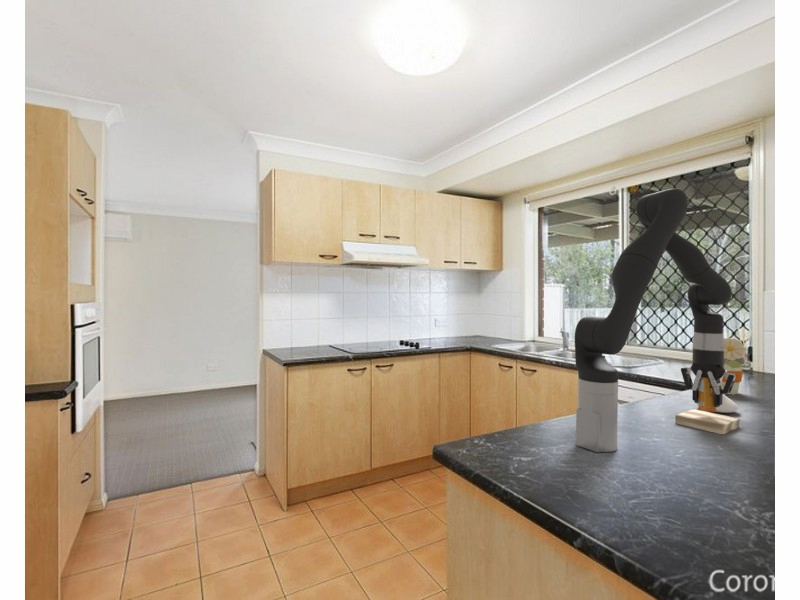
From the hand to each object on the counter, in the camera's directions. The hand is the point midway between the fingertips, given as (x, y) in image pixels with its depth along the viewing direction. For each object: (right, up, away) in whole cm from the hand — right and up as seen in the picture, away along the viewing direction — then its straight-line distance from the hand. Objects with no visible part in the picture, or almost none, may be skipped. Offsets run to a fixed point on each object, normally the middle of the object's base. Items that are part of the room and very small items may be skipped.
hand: (707, 404), depth 123 cm
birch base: (0, -6, 0) cm, 6 cm away
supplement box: (0, -2, 0) cm, 2 cm away
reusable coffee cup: (+38, -6, +42) cm, 57 cm away
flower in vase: (+16, -6, +15) cm, 22 cm away
